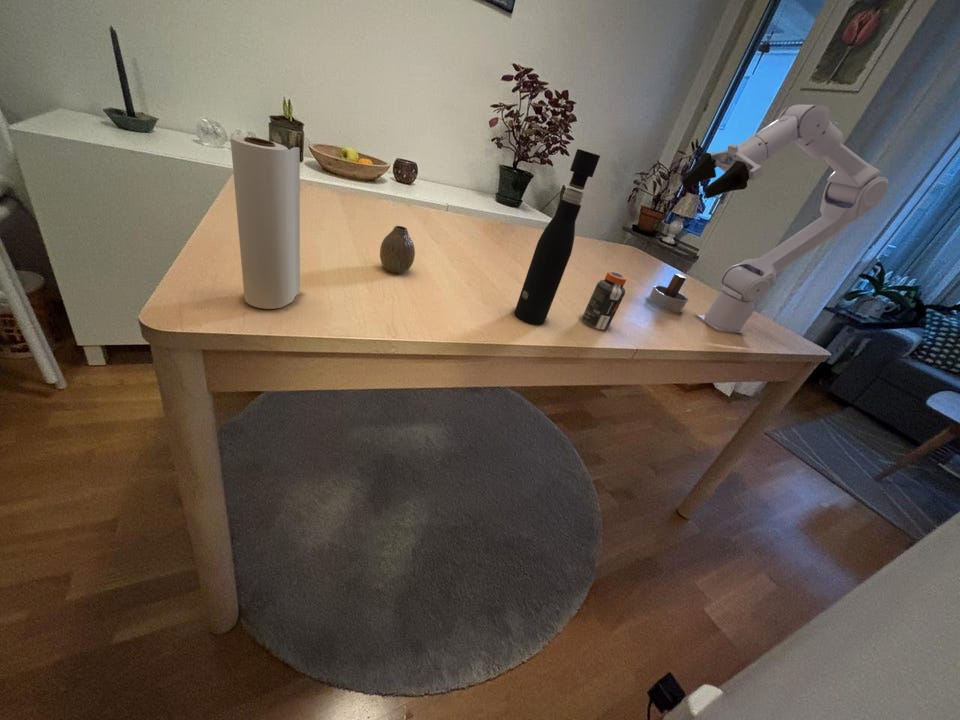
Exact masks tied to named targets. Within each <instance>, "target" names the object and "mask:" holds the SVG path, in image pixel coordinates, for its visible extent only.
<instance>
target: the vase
mask: <svg viewBox="0 0 960 720" xmlns="http://www.w3.org/2000/svg"><path fill="white" fill-rule="evenodd" d="M415 255H416V249H415V244H414V241H413V240H412V238H411V236H410V234H409V232H408V228H407V227H405V226H402V225H394V227H393V229H392V230H391V231H390V232H389V233H388V234H387V235H386V236H385V237H384V238H383V240H382V241H381V243H380V249H379V258H380V262H381V265H382V266H383V268H384V269H385V270H386V271H387V272H389V273H393V274H400V275H401V274H404V273H406V272H408V271H409V270H410V269H411V268H412V266H413V264H414V261H415Z"/></svg>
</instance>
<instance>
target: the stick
mask: <svg viewBox="0 0 960 720" xmlns="http://www.w3.org/2000/svg"><path fill="white" fill-rule="evenodd" d="M686 280H687V277H685V276H684V275H682V274H678V273H674V275H673V276H672V279H671V280H670V282H669V284H668V285H667V286H666V287H667V289H666V291H665V293H664V294H665V295H667V296H670V297H672V298H675V297H676V295H677V294H678V292H679V293H680V290H681V288H682V287H683V285H684V283H685V282H686Z"/></svg>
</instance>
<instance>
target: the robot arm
mask: <svg viewBox="0 0 960 720" xmlns="http://www.w3.org/2000/svg"><path fill="white" fill-rule="evenodd" d="M829 118H830V109H829V107H828V106H825V105H821V104H802V103H801V104H800V103H799V104H793V105H792V106H789V105H788V106H786V107H785V108H783V110H782V111H781V112H780V113H779V115H778V116H777V118H776V119H775V120H774V121H772V122H770V124H769V125H767V126H765V127H764V128H762V129H761V130H759V131H758V132H756V133H755V134H753V135H751V136H749V137H748V138H747V139H746V140H743V141H742V142H741V143H739V144H733V143H730V144H729V145H728V146H727V149H725V150H722V151H721V150H720V151H717V152H714V151H712V152H704V153H702V155H701V156H700V158H699V160H698V161H697V163H696V165H695V166H694V167H693V168H692V169H691V170H690V171H689V172H688V173H687V174H686V175H685V176H684V177H683V178H682V179H681V184H682V189H684V190H687V189H689V188H691V187H693V186H695V185H697V184H699V183H701V182H703V181H706V180H709V179H715V178H717V173H716V168H719V169H720V170H722V171H723V172H724V173H723V174H722V175H720V176H719V177H718V178H717V179H715V180H714V181H712V182H711V183H710V184H708V185H707V186H706V187H705V188H703V191H704V196H705V198H706V199H711V198H714V197H717V196H719V195H722V194H725V193H729V192H733V191H740V190H745V189H746V188H748V181H749V180H750V181H752V182H754V181H755V180H757V179H759V178H760V177H762V176H763V166H762V165H760V164H762V163H764V162H765V161H767V160H768V159H770V158H772V157H773V156H775V155H777V154H779V153H780V152H781V151H783V150H785V149H786V148H788V147H789V146H791V145H793V144H796V146H798V147H799V148H800V149H801V150H802V151H803V152H805V153H806V154H807V155H808V156H809V157H810V158H812V159H821V158H822V159H823V160H824V161H825V162H826V163H827V164H828V165H829V167H830V168H831V169H832V170H833V172H832V173H831V174H830V175H829V177H828V178H827V179H826V181H827V183H826V184H825V187H824V190H823V193H822V194H823V195H822V198H821V202H820V207H819V212H820V213H821V216H820V217H819V218H817V219H816V220H814V221H812V223H810V224H808V225H807V226H805V227H803V228H802V229H801V230H800V231H798V232H796V233H794V234H793V235H792V236H790V237H789V238H787V239H786V240H784V241H783V242H781V243H780V244H778V245H777V246H776V247H774V248H773V249H771V250H770V251H768V252H766V253H765V254H764V255H762V256H761V257H759V258H751V259H745V260H743V261H741V262H740V263H737V264H734V265H731V266H730V267H728V268H726V270H725V271H724V272H723V273H722V275H721V277H720V284H721V286H720V287H719V288H720V289H721V290H720V292H718V295H717V296H716V298H715V299H714V301H713V302H712V304H711V305H710V307H709V309H708V311H707V312H706V313H705V315H702V314H696V316H697V317H698V318H700V319H701V320H702V321H704V322H705V323H707V324H708V325H710V326H711V327H712V328H714V329H715V330H718V331H724V332H731V333H739V334H743V332H742V329H743V327H744V326H745V325H746V323H747V322H748V320H749V319H750V318H751V316H752V315H753V313H754V312H755V307H756V305H755V301H757V300H760V299H761V298H762V297H764V296H765V295H766V293H767V292H768V291H769V290H771V289H772V288H773V287H775V286H776V284H777V283H776V282H777V274H778V273H780V272H781V271H783V270H784V269H786V268H788V267H789V266H791V265H792V264H794V263H795V262H797V261H798V260H800V259H802V258H803V257H804V256H806V255H807V254H809V253H810V252H812V251H814V250H815V249H816V248H818V247H819V246H822V245H823V244H824V243H826V242H827V241H829V240H830V239H832V238H833V237H835V236H836V235H838V234H839V233H841V232H842V231H844V230H845V229H847V228H848V227H849V226H850V225H851V224H852V223H854V222H855V221H857V220H859V219H860V218H861V217H862V216H864V215H866V214H867V213H869V212H870V211H871V210H873V209H874V208H876V207H878V206H880V204H881V203H882V201H883V199H884V198H885V196H886V194H887V192H888V190H889V187H890V186H889V185H890V181H889V179H888V178H886V177H883V173H882V171H880V170H879V169H878V168H876V167H874V166H873V165H871V164H870V163H868V162H867V161H866V160H864V159H863V158H861V157H860V156H859V155H858V154H856V153H855V152H853V150H851V149H849V147H847V146H846V145H845V144H843V143H842V142H843V138H844V134H843V132H842V131H841V130H840V129H839V128H840V126H841V125H840V123H838V122H837V121H831V120H830V119H829Z"/></svg>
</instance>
